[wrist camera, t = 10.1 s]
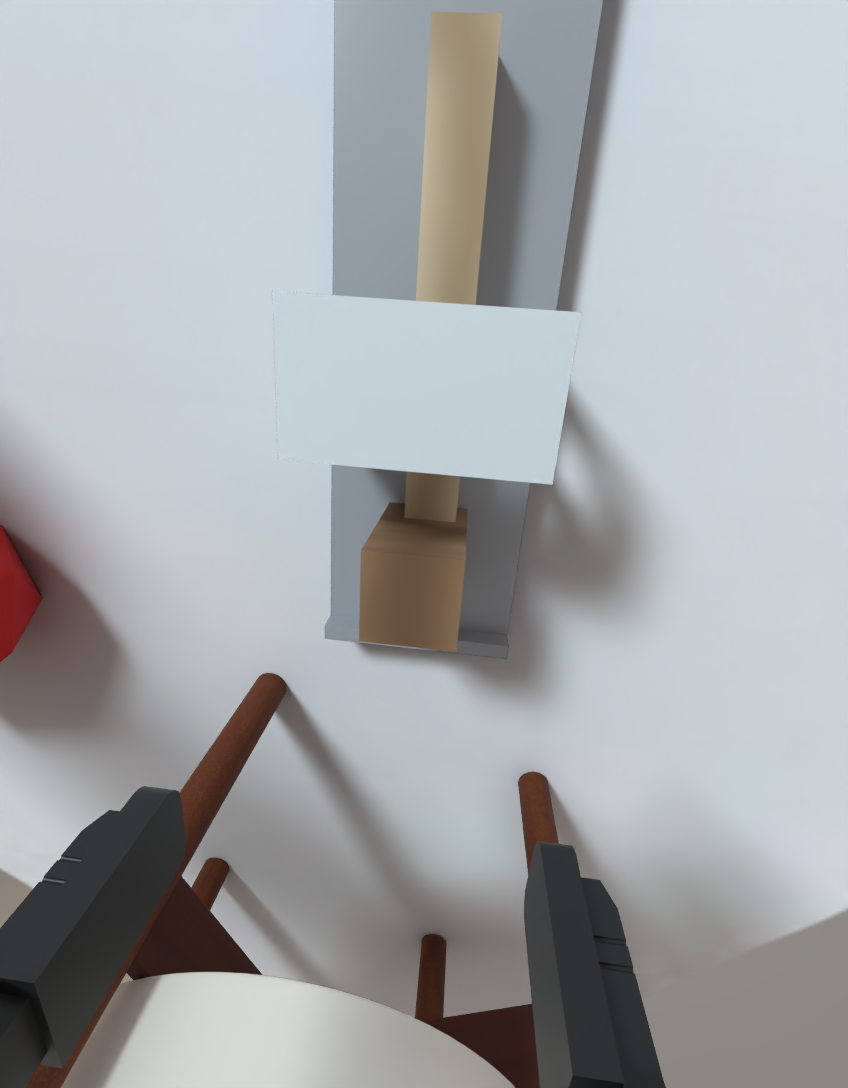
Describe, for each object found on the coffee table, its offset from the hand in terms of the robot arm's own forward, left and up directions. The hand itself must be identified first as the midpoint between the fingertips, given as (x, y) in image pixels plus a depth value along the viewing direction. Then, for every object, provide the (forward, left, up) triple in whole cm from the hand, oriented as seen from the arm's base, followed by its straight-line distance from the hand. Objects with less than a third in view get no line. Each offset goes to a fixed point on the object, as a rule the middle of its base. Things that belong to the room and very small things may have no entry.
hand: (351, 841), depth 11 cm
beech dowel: (0, +12, -17) cm, 20 cm away
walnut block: (0, +1, -17) cm, 17 cm away
